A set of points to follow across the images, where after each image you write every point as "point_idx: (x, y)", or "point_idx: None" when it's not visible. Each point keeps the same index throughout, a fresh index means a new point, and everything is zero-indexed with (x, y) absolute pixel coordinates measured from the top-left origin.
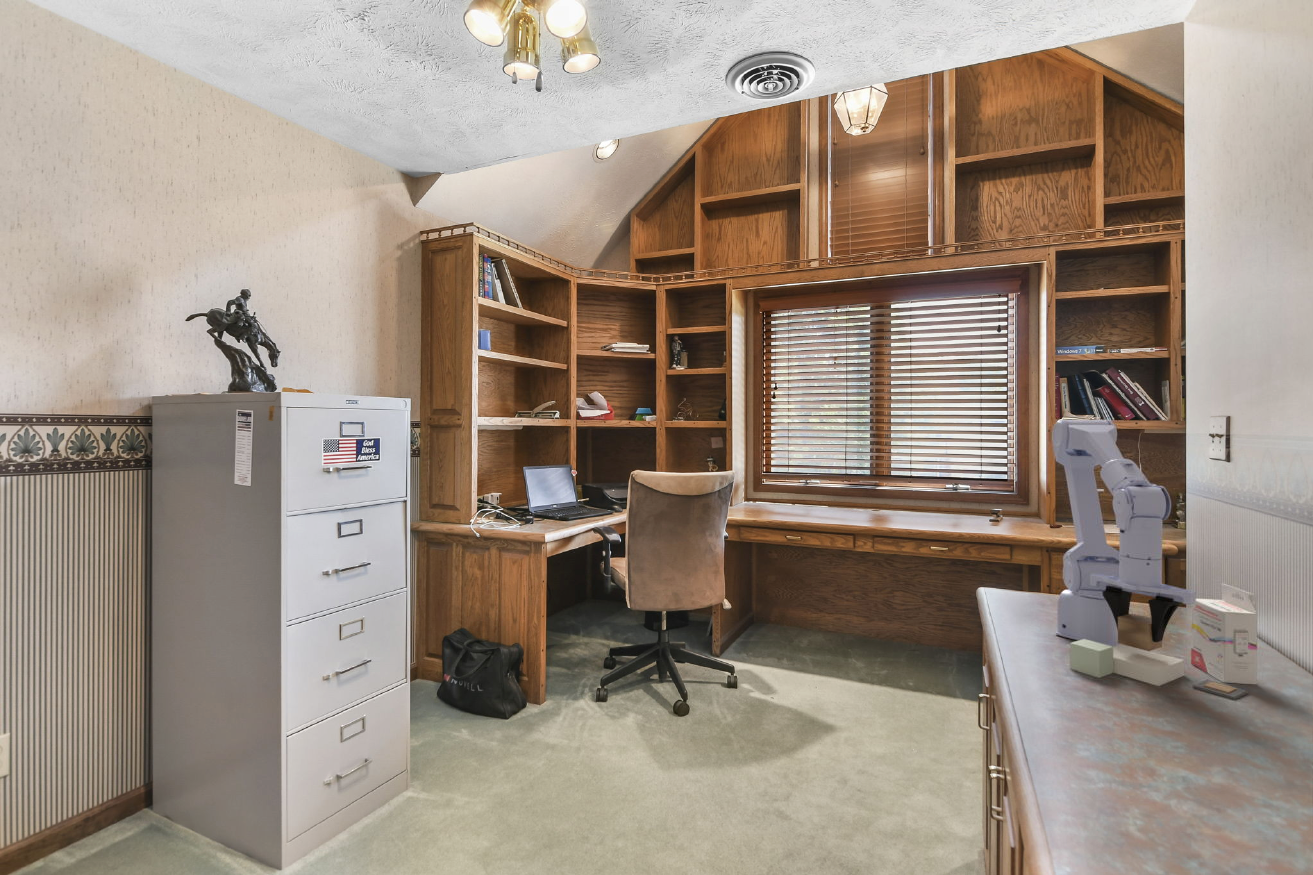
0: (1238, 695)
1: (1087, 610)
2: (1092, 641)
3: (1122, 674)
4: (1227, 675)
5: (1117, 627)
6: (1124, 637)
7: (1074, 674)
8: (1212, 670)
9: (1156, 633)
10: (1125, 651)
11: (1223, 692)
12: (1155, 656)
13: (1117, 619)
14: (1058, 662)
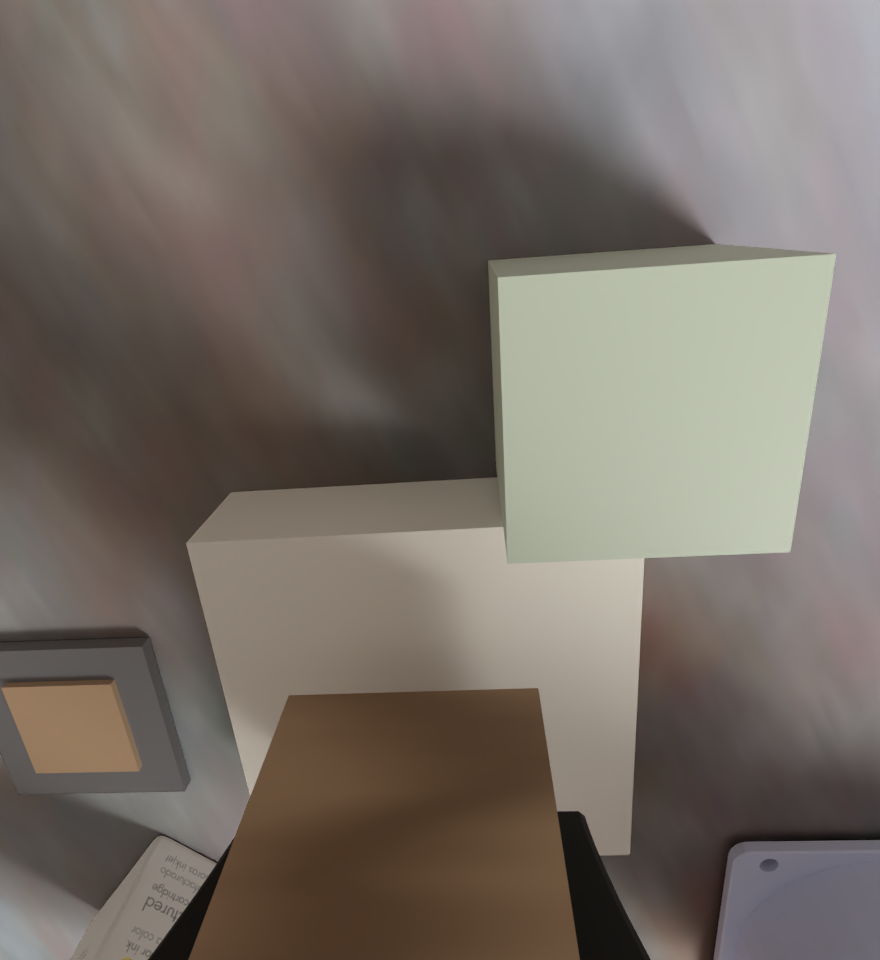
0: None
1: None
2: (700, 543)
3: (441, 481)
4: (133, 878)
5: (590, 851)
6: (482, 742)
7: (626, 128)
8: None
9: (198, 891)
10: None
11: (19, 673)
12: None
13: (603, 944)
14: (836, 299)
